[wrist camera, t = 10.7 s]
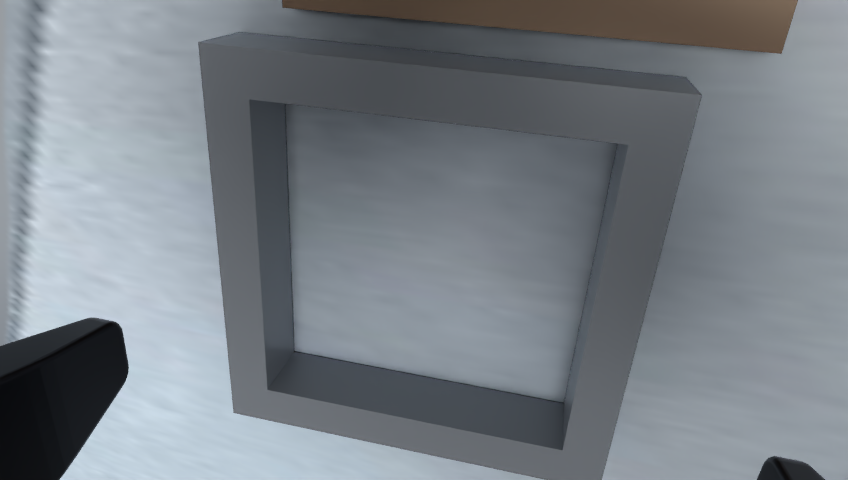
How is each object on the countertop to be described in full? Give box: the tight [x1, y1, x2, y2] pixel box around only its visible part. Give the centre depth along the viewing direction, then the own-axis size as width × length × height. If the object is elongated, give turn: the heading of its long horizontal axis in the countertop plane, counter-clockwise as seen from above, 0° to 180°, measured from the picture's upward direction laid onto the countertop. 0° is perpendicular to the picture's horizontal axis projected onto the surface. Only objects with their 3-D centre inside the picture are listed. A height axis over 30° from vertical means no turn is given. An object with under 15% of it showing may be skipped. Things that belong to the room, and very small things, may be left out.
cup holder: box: [198, 32, 702, 480], centre depth 21 cm, size 14×14×2 cm
